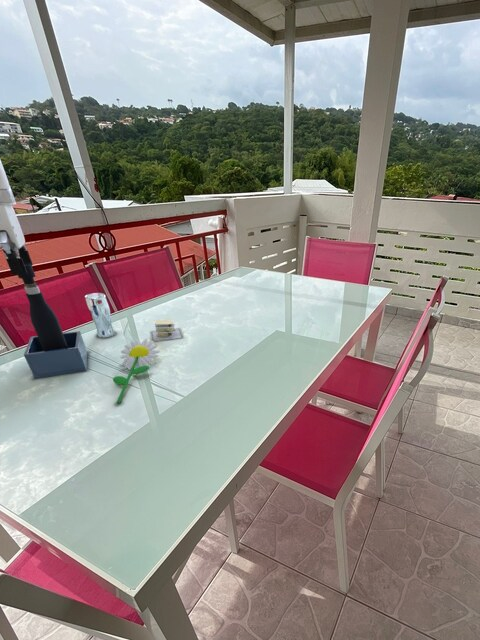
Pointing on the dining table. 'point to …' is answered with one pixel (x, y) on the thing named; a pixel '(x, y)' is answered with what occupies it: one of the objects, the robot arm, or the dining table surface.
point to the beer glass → (100, 314)
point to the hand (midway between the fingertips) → (23, 269)
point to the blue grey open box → (57, 357)
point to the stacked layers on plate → (165, 330)
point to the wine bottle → (42, 315)
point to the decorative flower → (136, 361)
